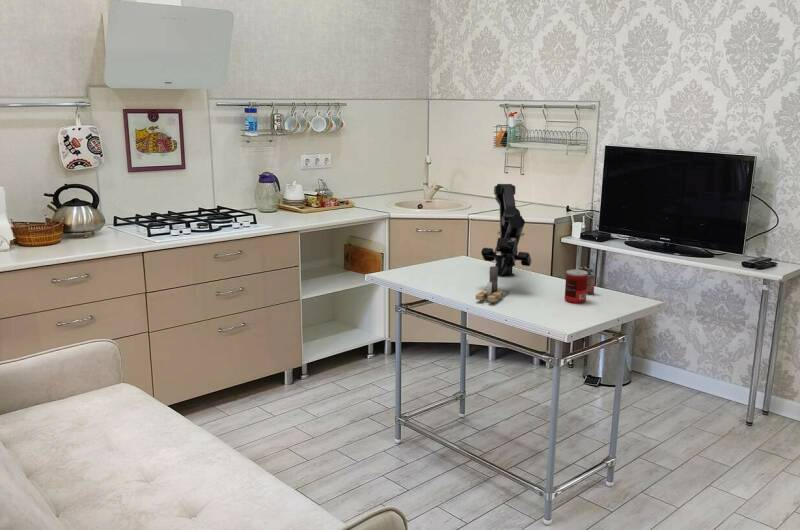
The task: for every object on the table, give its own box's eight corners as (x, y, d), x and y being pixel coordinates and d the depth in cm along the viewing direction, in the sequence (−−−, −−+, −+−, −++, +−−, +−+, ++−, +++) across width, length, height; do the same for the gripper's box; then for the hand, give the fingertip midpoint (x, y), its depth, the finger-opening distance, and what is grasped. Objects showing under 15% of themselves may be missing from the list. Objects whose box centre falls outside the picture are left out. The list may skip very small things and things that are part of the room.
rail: (494, 291, 272) (494, 273, 270) (509, 293, 269) (510, 275, 268) (479, 301, 259) (480, 282, 257) (495, 303, 256) (495, 284, 254)
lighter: (572, 291, 273) (574, 266, 270) (576, 290, 275) (578, 265, 273) (591, 295, 267) (593, 270, 265) (595, 294, 270) (597, 268, 267)
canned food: (586, 299, 263) (588, 270, 260) (584, 304, 255) (587, 275, 253) (565, 297, 265) (567, 268, 263) (563, 302, 258) (565, 273, 255)
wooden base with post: (485, 292, 265) (486, 265, 262) (503, 295, 262) (504, 267, 259) (475, 299, 256) (476, 270, 254) (493, 301, 253) (495, 273, 251)
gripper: (483, 227, 272) (471, 260, 265) (530, 231, 264) (519, 266, 257) (490, 243, 281) (478, 276, 274) (535, 248, 272) (525, 282, 266)
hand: (500, 275), depth 267 cm, fingers closed
